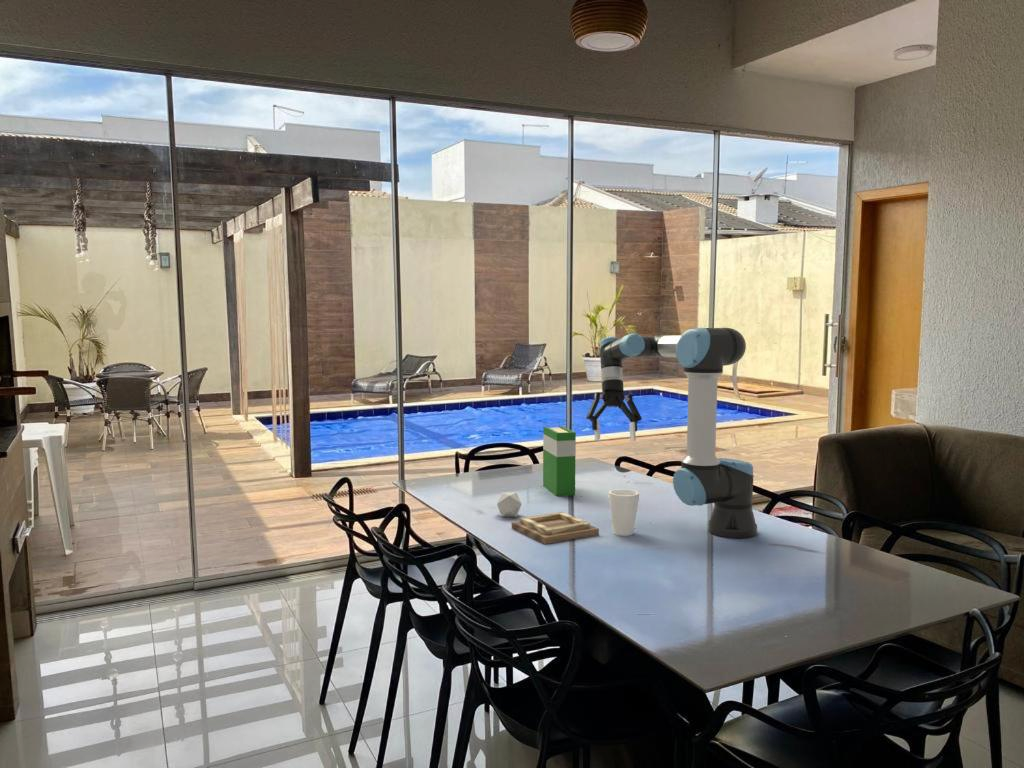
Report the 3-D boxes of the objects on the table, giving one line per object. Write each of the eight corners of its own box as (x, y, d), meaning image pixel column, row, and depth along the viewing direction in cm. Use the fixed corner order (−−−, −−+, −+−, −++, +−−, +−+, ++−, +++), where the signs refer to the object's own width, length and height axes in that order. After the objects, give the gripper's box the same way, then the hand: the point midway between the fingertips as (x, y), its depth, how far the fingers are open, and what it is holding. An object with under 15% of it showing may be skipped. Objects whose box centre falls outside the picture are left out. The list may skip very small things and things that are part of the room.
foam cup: (637, 529, 257) (638, 489, 256) (639, 537, 248) (639, 496, 247) (607, 528, 258) (608, 488, 257) (608, 536, 249) (608, 495, 248)
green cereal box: (543, 486, 319) (543, 426, 316) (560, 485, 320) (561, 425, 318) (556, 496, 302) (556, 433, 299) (575, 495, 303) (575, 432, 301)
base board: (598, 534, 251) (598, 523, 251) (544, 544, 241) (544, 532, 241) (563, 519, 268) (563, 509, 268) (511, 528, 258) (511, 517, 258)
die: (512, 522, 268) (527, 497, 270) (490, 508, 269) (506, 484, 271) (512, 524, 276) (526, 500, 278) (491, 511, 277) (505, 487, 279)
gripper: (639, 385, 291) (642, 443, 286) (575, 381, 283) (578, 440, 278) (648, 380, 284) (652, 439, 279) (584, 376, 276) (586, 437, 271)
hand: (615, 440), depth 278 cm, fingers open, 13 cm apart
